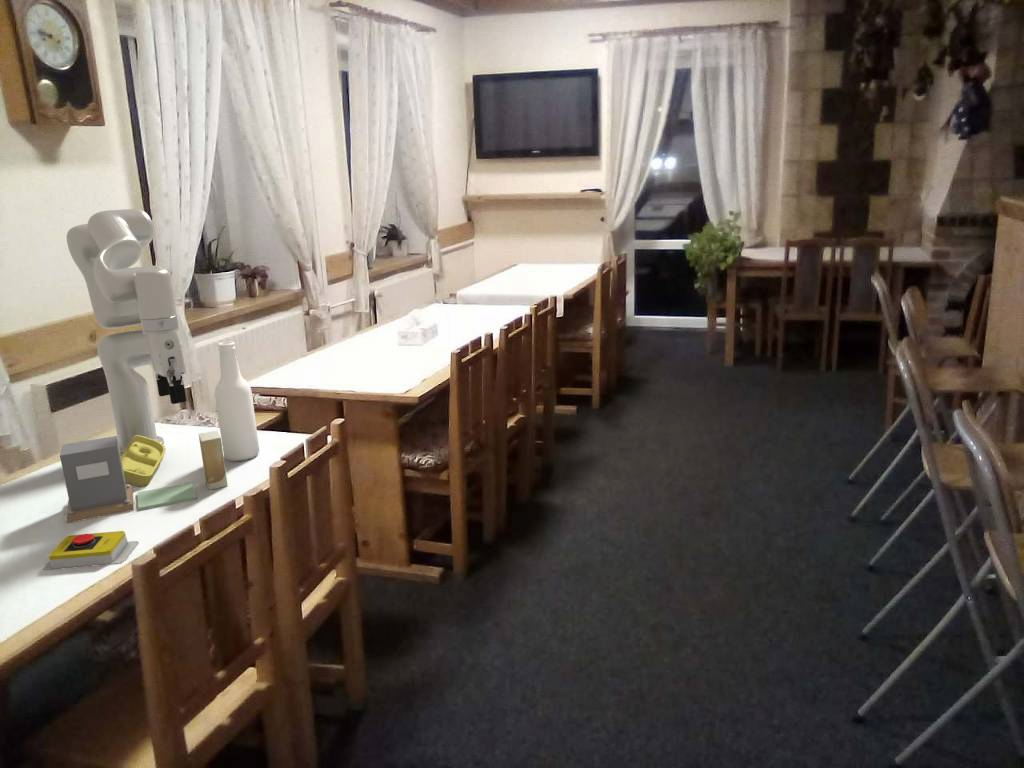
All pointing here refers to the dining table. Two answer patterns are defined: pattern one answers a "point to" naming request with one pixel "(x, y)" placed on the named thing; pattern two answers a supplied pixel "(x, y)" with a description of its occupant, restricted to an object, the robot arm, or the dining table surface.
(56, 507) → the dining table surface
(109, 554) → the emergency button
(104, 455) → the mounted unit
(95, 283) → the robot arm
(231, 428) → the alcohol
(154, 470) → the plastic component
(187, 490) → the mat
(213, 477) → the skincare box
